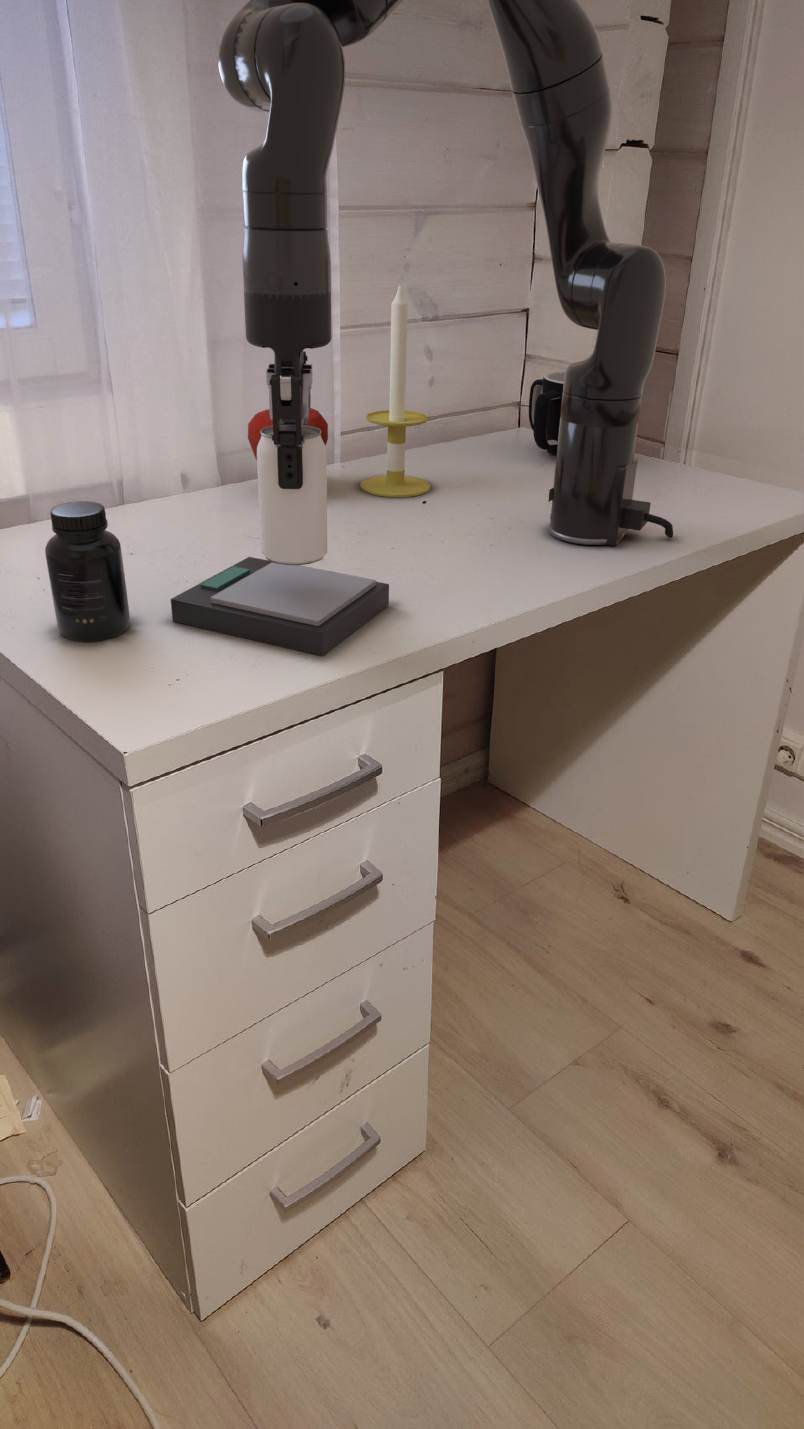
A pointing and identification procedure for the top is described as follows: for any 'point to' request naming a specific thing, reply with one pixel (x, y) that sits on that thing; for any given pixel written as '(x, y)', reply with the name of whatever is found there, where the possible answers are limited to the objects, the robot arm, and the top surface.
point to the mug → (546, 410)
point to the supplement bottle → (86, 573)
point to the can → (293, 502)
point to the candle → (396, 416)
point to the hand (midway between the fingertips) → (292, 477)
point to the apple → (264, 420)
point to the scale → (282, 604)
